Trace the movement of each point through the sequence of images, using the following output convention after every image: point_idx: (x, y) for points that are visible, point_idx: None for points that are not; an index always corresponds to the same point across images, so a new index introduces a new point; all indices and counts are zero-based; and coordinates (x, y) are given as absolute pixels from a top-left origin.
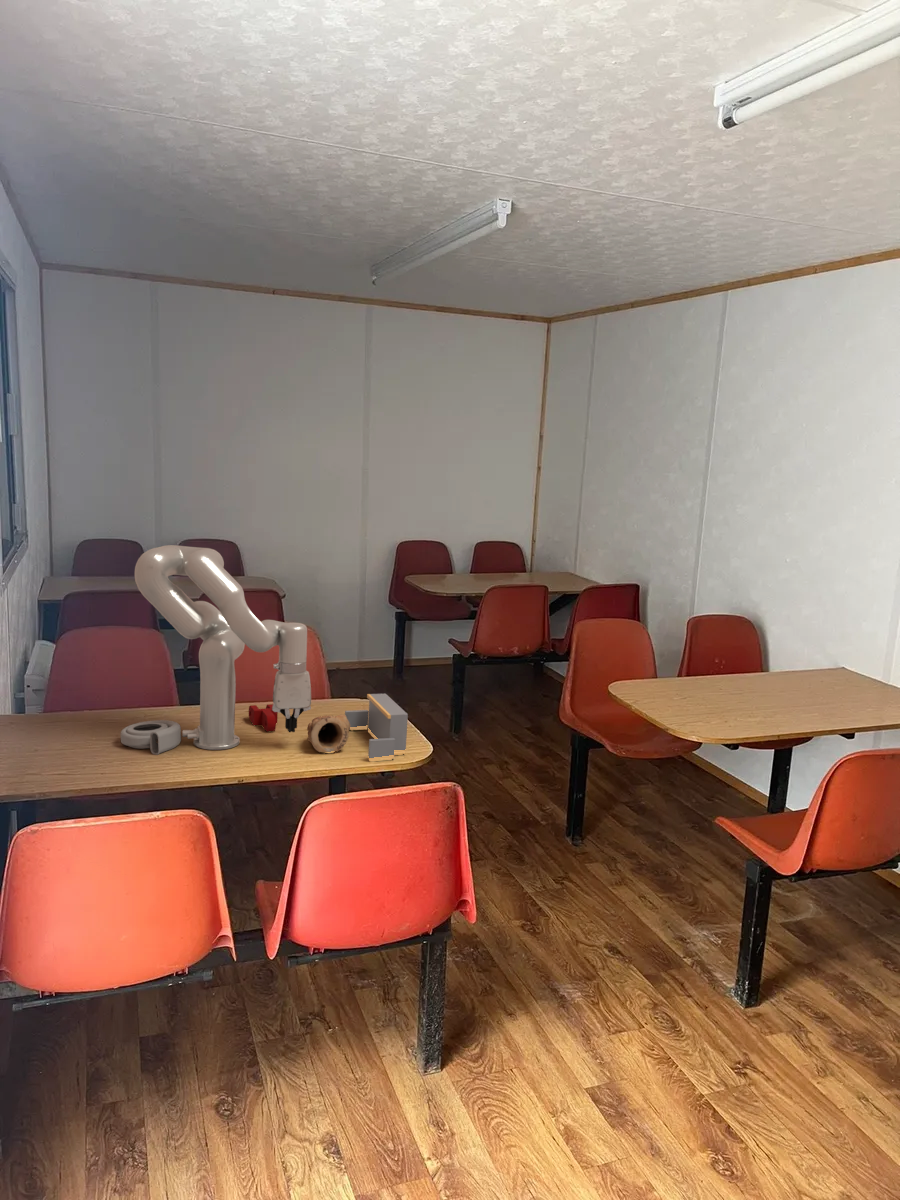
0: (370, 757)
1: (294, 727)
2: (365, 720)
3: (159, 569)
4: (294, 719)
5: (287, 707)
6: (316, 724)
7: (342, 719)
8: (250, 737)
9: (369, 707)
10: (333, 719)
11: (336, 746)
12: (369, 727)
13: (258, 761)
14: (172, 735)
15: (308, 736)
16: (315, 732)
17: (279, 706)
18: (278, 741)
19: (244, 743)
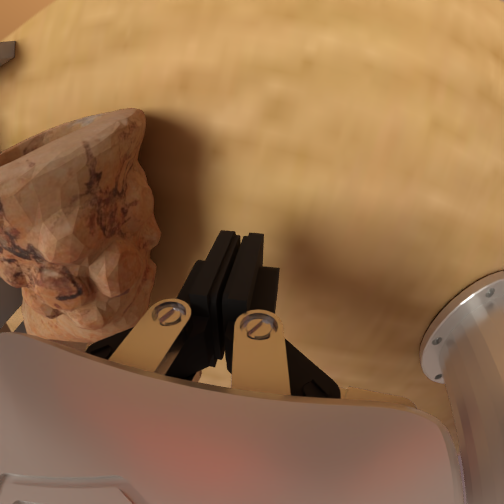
0: (2, 42)
1: (216, 246)
2: (23, 326)
3: None
4: (197, 288)
5: (268, 411)
6: (43, 165)
7: (30, 314)
8: (369, 360)
9: None
10: None
11: (57, 127)
12: (14, 294)
13: (453, 88)
14: None
15: (147, 202)
16: (85, 131)
17: (414, 435)
18: (288, 310)
19: (417, 316)
